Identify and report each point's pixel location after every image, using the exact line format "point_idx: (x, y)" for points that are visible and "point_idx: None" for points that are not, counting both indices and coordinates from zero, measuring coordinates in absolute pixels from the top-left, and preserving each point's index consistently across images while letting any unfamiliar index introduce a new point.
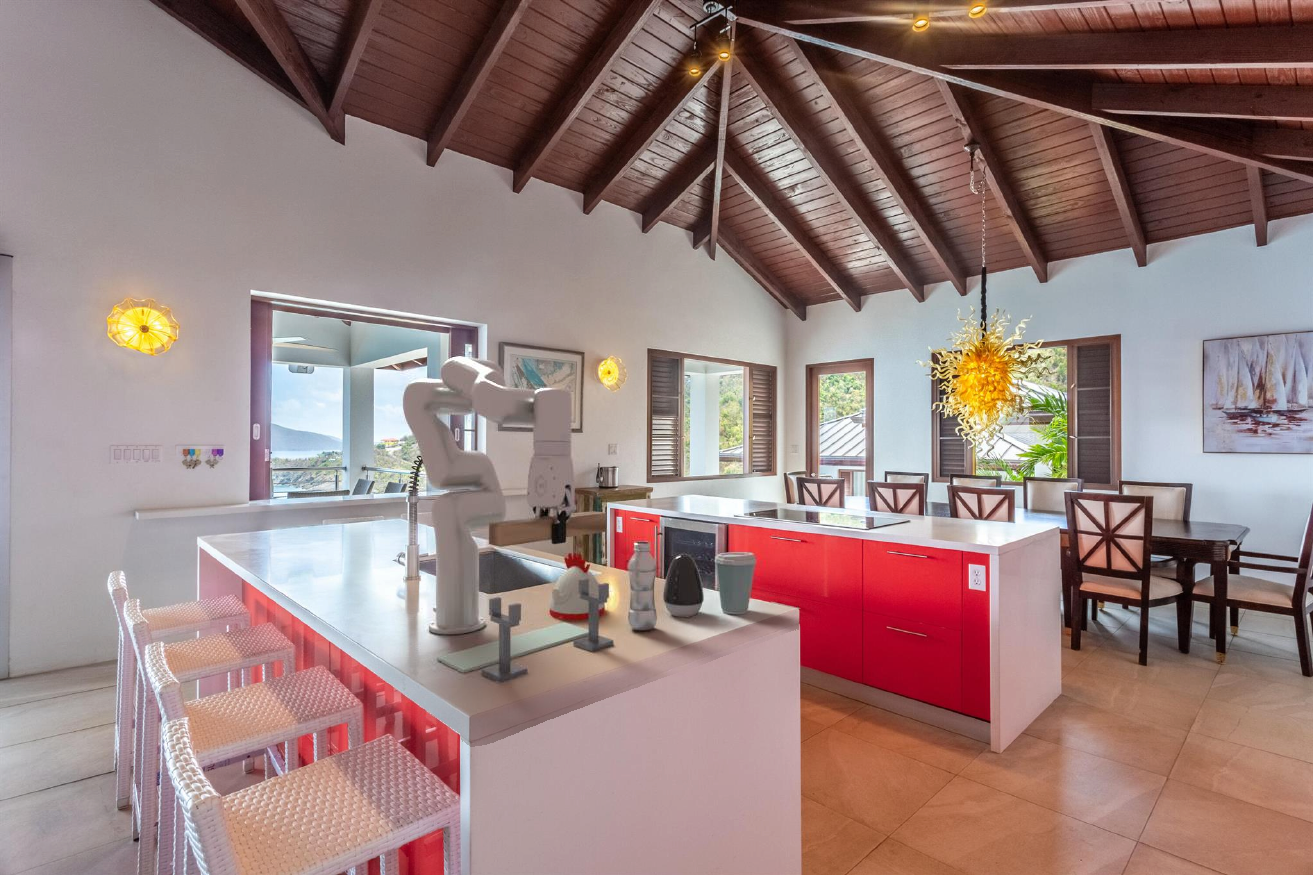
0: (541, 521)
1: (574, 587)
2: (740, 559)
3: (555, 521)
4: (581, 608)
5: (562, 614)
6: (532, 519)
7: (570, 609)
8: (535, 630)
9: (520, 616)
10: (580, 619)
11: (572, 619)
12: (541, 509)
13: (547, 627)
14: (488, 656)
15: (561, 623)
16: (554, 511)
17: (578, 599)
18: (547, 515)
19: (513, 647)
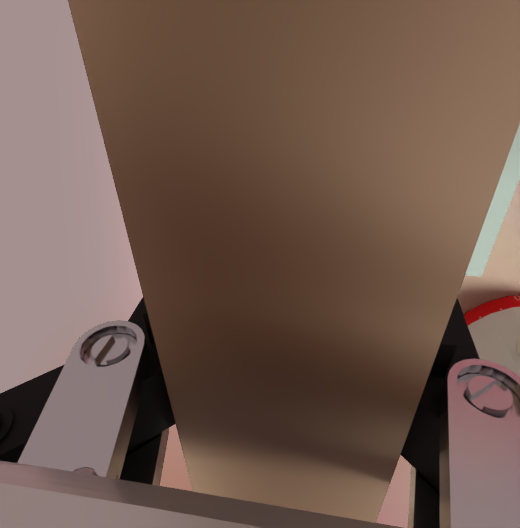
0: (132, 213)
1: (518, 375)
2: None
3: (116, 341)
4: (472, 334)
5: (517, 304)
6: (299, 187)
7: (498, 320)
8: (511, 192)
9: None
10: (466, 314)
11: (484, 304)
12: (440, 523)
13: (495, 227)
14: None
15: (481, 266)
16: (71, 451)
17: (489, 350)
18: (422, 482)
19: None
